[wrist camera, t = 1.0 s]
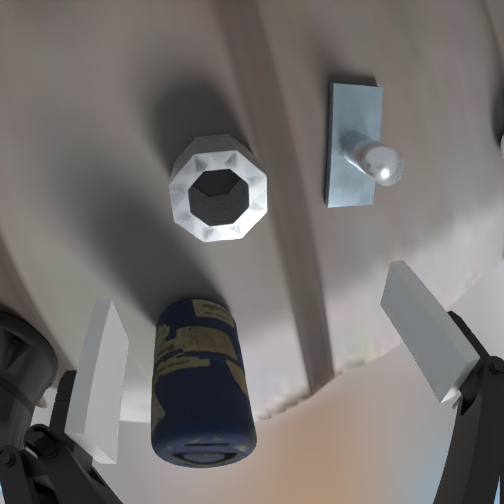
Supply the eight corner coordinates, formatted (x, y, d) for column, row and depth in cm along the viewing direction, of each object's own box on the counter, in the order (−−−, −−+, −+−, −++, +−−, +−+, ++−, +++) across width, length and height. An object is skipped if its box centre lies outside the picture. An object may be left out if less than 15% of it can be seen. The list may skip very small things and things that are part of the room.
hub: (181, 212, 30) (178, 244, 25) (171, 139, 26) (164, 158, 21) (255, 204, 30) (267, 235, 25) (252, 132, 27) (265, 148, 22)
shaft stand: (324, 203, 31) (353, 238, 26) (329, 82, 25) (366, 89, 19) (368, 200, 32) (402, 232, 26) (377, 86, 25) (421, 96, 20)
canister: (168, 283, 34) (160, 439, 19) (248, 303, 37) (280, 447, 22) (150, 340, 38) (142, 474, 23) (220, 354, 41) (236, 481, 26)
